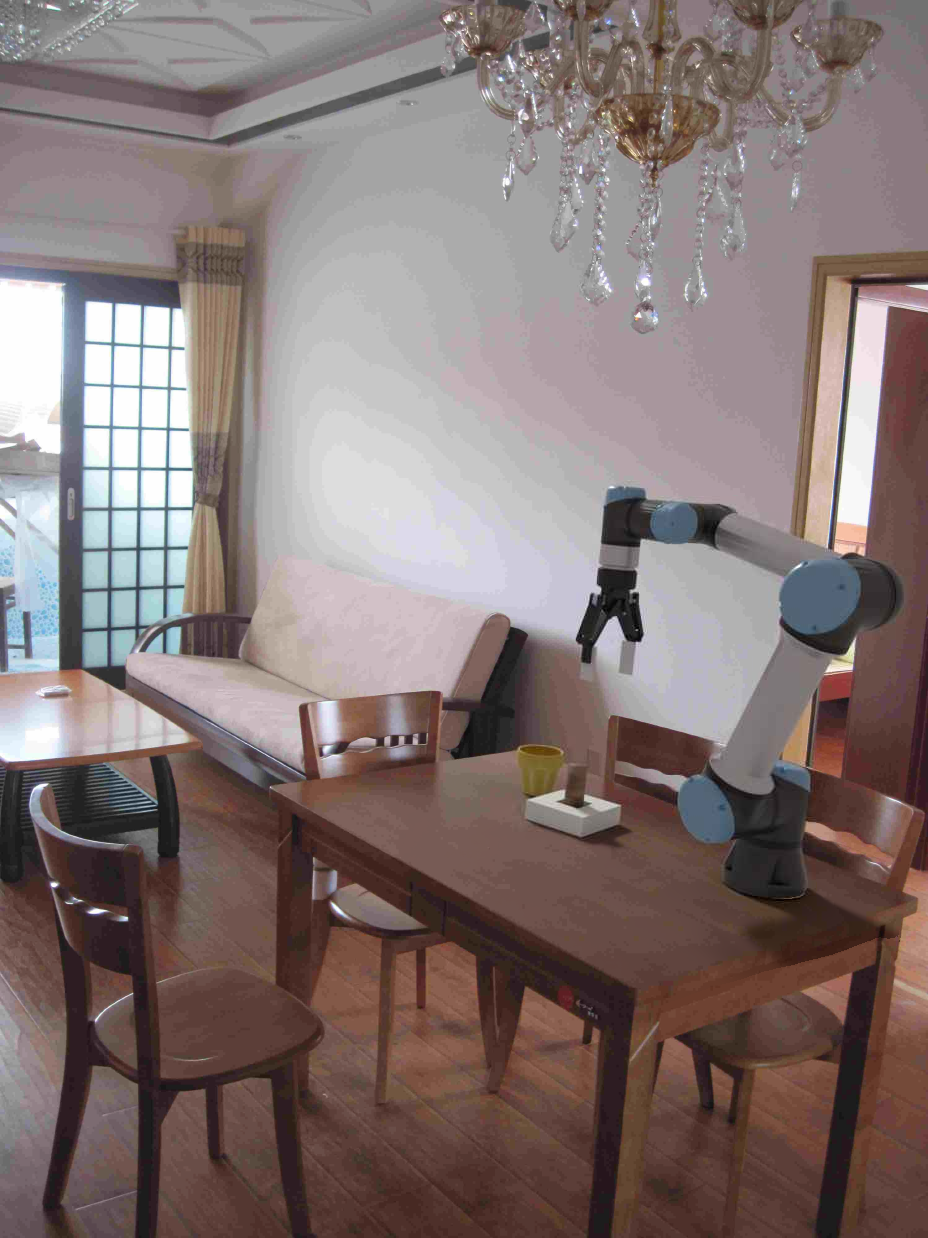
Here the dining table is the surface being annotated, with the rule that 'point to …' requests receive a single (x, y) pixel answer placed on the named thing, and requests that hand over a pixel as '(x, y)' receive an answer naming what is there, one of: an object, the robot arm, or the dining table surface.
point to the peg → (575, 784)
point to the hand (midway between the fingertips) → (606, 677)
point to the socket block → (572, 814)
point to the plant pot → (539, 768)
